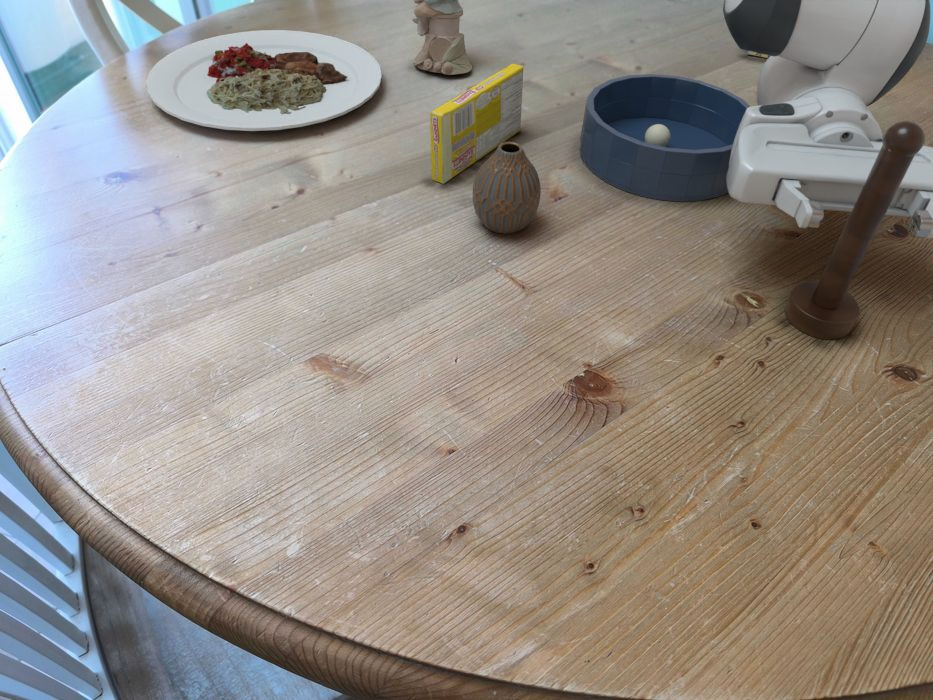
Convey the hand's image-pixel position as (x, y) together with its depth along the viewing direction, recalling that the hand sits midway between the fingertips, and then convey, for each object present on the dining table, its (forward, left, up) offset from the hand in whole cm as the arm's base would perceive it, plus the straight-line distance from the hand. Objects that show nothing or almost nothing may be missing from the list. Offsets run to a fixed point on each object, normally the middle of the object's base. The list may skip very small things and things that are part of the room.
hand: (869, 226), depth 61 cm
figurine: (+41, -50, -11) cm, 66 cm away
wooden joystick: (0, -1, -11) cm, 11 cm away
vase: (+30, -12, -11) cm, 34 cm away
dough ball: (+13, -30, -9) cm, 34 cm away
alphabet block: (-6, -64, -11) cm, 65 cm away
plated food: (+63, -39, -11) cm, 75 cm away
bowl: (+12, -29, -11) cm, 33 cm away
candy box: (+34, -26, -11) cm, 44 cm away
